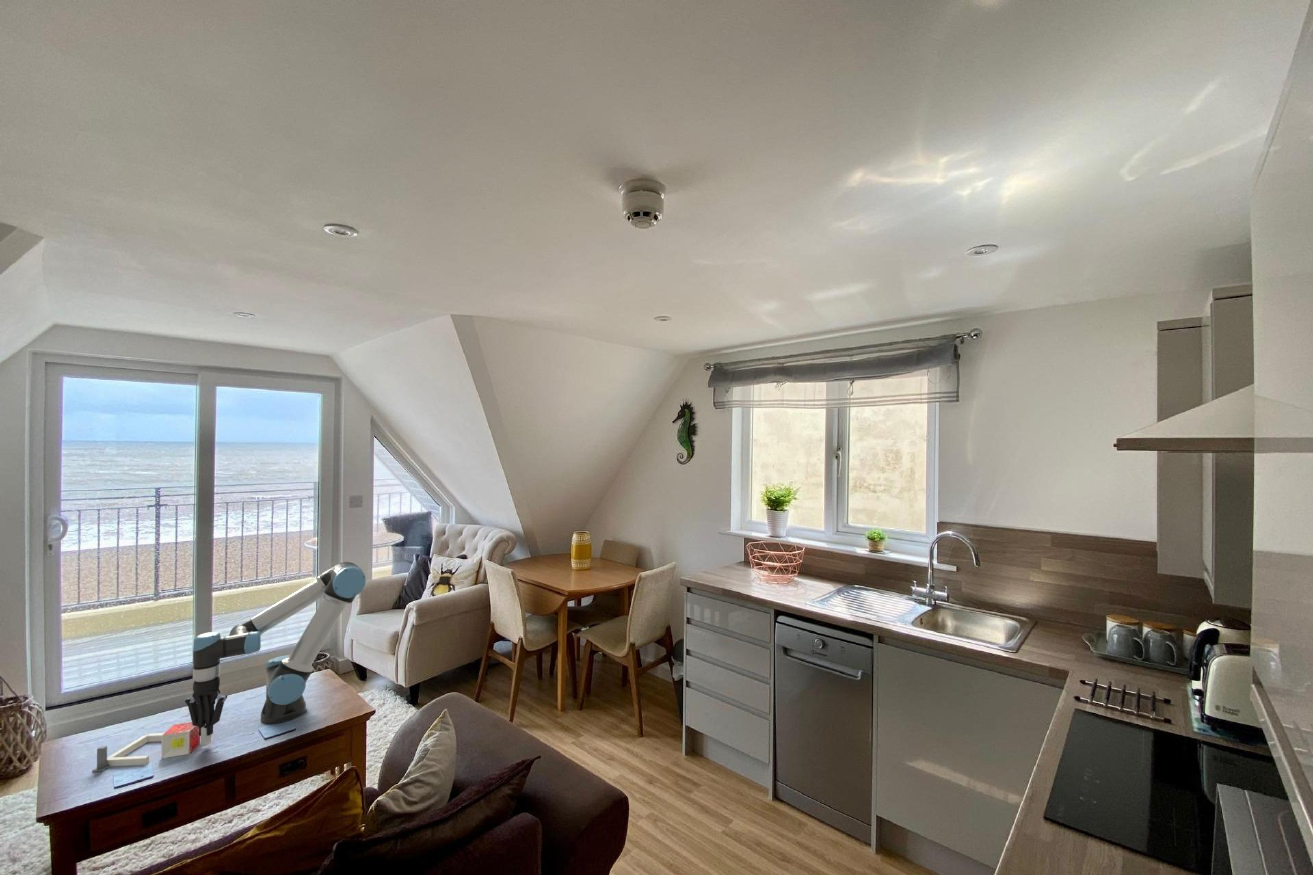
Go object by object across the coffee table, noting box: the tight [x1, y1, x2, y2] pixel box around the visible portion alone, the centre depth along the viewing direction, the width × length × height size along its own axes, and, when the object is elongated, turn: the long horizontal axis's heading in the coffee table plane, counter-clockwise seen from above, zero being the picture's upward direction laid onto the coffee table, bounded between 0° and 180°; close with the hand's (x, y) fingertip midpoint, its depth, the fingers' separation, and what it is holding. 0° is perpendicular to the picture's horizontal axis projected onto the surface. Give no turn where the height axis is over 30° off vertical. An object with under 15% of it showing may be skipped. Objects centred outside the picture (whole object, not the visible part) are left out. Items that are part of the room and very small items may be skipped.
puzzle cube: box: [161, 721, 201, 759], centre depth 194 cm, size 8×8×8 cm
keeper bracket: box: [91, 732, 165, 773], centre depth 192 cm, size 14×20×7 cm
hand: (205, 744), depth 195 cm, fingers closed
